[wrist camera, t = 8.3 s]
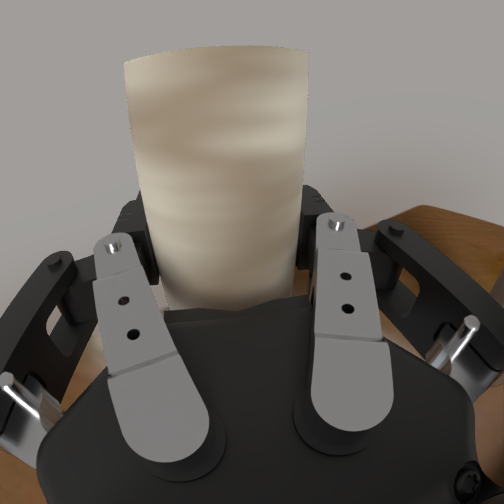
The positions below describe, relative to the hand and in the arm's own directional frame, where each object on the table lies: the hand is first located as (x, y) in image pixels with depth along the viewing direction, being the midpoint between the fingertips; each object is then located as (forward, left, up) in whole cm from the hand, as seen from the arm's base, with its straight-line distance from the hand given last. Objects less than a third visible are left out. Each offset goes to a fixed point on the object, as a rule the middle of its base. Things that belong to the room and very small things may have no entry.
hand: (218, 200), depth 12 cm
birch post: (+1, +2, -8) cm, 8 cm away
